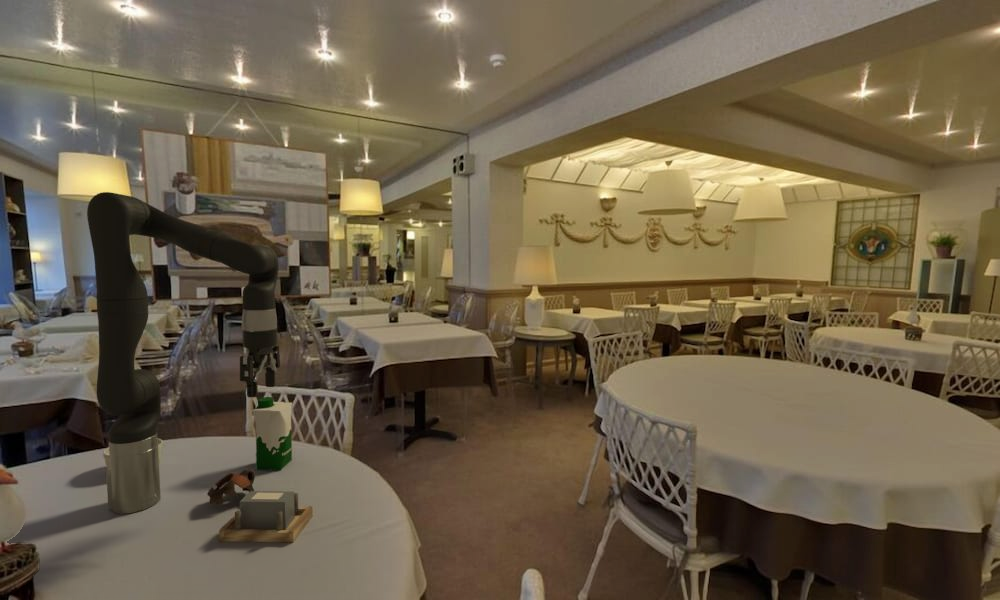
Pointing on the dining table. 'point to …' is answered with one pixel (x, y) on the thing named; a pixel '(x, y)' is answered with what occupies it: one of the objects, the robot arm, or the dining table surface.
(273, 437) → the milk carton
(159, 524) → the dining table surface
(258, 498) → the block
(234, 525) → the pin tray
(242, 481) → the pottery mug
